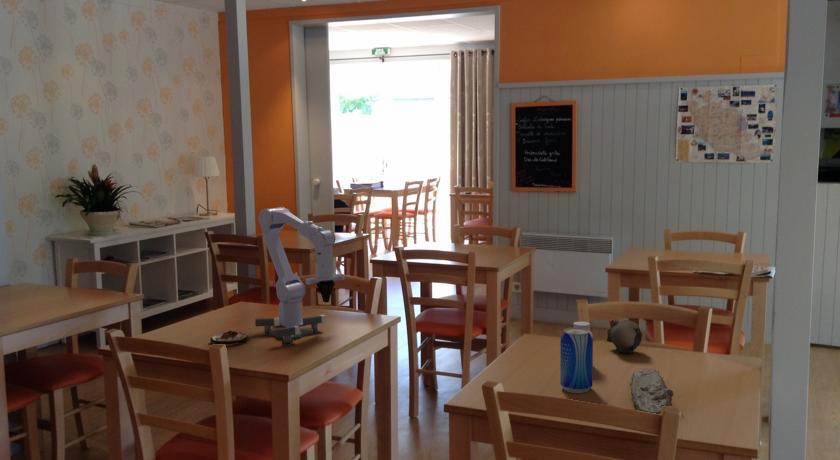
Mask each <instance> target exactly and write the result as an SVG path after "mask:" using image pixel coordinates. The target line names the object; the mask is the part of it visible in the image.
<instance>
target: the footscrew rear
mask: <svg viewBox="0 0 840 460" xmlns="http://www.w3.org/2000/svg"><path fill="white" fill-rule="evenodd" d="M254 322H255V327H256V328H257V327H264V329H263V330H264V333H268V330H271V329H272V327H278V326H280V324H279V317H266V318H264V317H263V318H262V317H261V318H255V321H254Z"/></svg>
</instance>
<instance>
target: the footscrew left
mask: <svg viewBox="0 0 840 460" xmlns="http://www.w3.org/2000/svg"><path fill="white" fill-rule="evenodd" d="M302 321H303V325H302V326H309V325H310V326H311V327H310V328H313V331H318V330H319V329H318V327H319V326H318V324H323V323H327V316H326V314H319V315H313V316H306V317H302Z"/></svg>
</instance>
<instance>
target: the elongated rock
mask: <svg viewBox="0 0 840 460" xmlns="http://www.w3.org/2000/svg"><path fill="white" fill-rule="evenodd" d="M629 386H630V387H631V388H630V390H631V392H630V395H631V401H632V403H633V405H634V406H635V409H636V411H637V410H639V411H644V412H650V413H656V414H660V413H661V409H662V406H664V405H665V406H673V403H672V401H673V398H672V397H673V396H674V391H673V390H672V389H669V388H666V387H667V386H666V382H665V380H664V377H662V376H661V375H660V371H659V370H656V369H653V368H648V367H645V368H639V369H638V370H635V371H634V372H633V373H632V375H631V382H630V383H629Z"/></svg>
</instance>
